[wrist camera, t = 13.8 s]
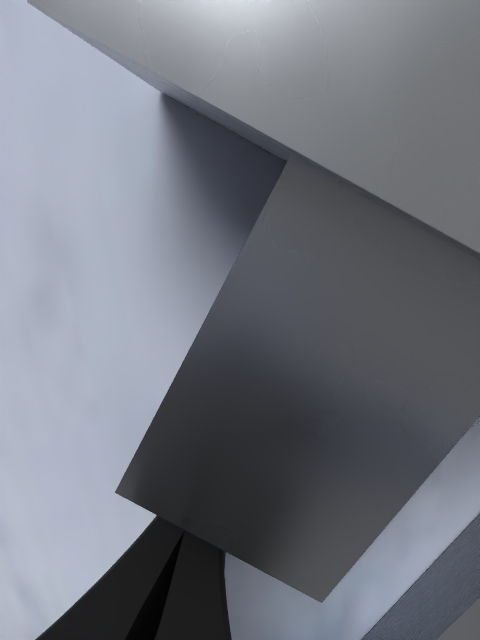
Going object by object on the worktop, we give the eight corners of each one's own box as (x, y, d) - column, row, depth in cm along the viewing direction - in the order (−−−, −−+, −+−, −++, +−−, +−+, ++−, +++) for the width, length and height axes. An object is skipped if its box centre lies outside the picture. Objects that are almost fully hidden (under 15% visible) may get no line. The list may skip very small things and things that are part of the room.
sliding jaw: (54, 345, 10) (-96, 441, 6) (230, -99, 7) (146, -428, 3) (426, 546, 10) (499, 757, 6) (747, 194, 7) (1229, 199, 3)
